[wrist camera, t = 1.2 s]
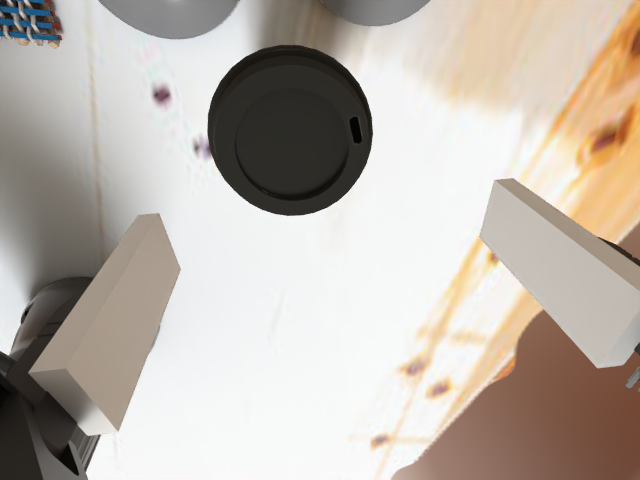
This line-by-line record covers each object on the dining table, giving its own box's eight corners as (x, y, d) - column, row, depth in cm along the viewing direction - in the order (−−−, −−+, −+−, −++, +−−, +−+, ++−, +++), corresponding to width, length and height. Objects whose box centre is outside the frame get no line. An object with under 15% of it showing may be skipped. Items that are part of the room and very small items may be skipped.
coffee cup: (214, 53, 28) (164, 84, 16) (325, 16, 27) (361, 18, 15) (257, 159, 34) (244, 242, 21) (350, 130, 33) (391, 200, 21)
